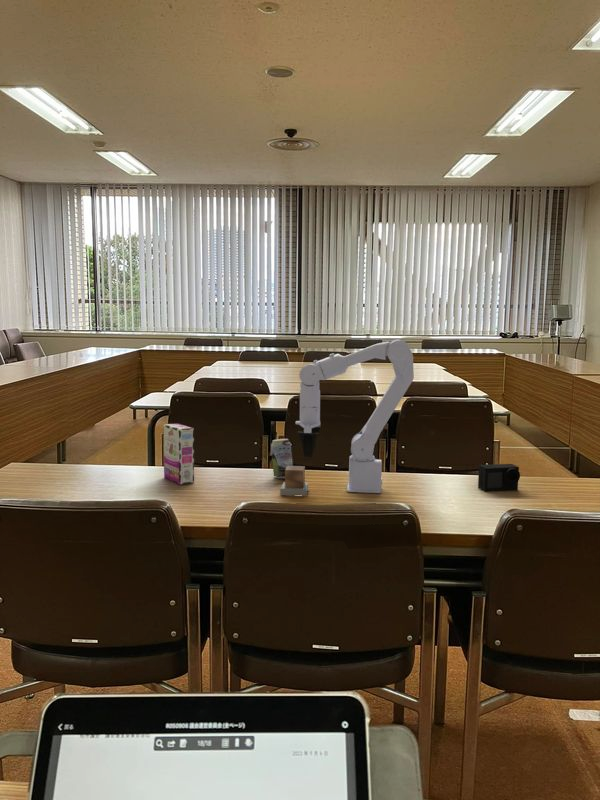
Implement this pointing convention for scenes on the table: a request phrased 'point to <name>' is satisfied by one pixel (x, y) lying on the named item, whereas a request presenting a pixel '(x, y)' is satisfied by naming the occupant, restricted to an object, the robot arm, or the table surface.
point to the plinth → (294, 490)
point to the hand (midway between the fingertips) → (309, 453)
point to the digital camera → (498, 477)
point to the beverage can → (281, 456)
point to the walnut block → (294, 476)
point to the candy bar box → (179, 453)
